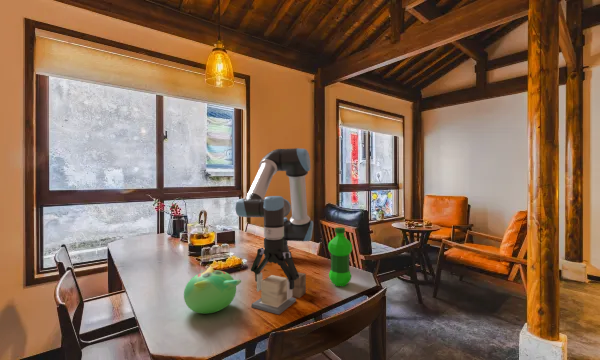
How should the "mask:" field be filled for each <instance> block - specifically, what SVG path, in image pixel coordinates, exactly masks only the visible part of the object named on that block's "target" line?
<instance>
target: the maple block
mask: <svg viewBox="0 0 600 360" xmlns="http://www.w3.org/2000/svg"><path fill="white" fill-rule="evenodd" d="M260 291H261V292H260V293H261V295H260V298H261V302H263V303H266V304H270V305H274V306H278V305H280V304H281V303H282V302H284V301H285V300H286V299H287V277H283V276H279V275H274V274H271V275H269V276H267V277H266V278H263V279H262V281H261V290H260Z"/></svg>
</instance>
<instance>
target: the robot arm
mask: <svg viewBox="0 0 600 360" xmlns="http://www.w3.org/2000/svg"><path fill="white" fill-rule="evenodd" d="M310 171H311V157H310V154H309V151H308V149H306V148H299V147H297V148H296V147H295V148H276V149H273V150H272V151H270V152H268V153H267V154H266V155H264V156H263V157H262V159H261V160H260V162H259V163H258V171H257V173H256V175H255V177H254V179H253V181H252V183H251V185H250V188H249V190H248V192H247V194H246V195H245V196H246V197H244V198H239V199H237V200H236V202H235V213H236V215H237V216H238V217H240V218H241V217H242V218H263V237H264V239H263V247H260V248H258V249H256V250H257V251H256V252H257V253H256V256H255V258H254V260H253V263H252V264H251V265H252V266H251V268H250V271H251V273H254V276H255V277H254V280H255V283H256V292H257V293H258V292H260V291H261V281H262V280H263V272H262V270H263V269H264V268H265V267H266V265H267V264H268V263H269V264H270V263H273V264H277V266H279V267H280V268H281V270H282V272H283V273H284V275H285V276H286V278H288V279H289V280H287V299H289V298H291V297H293V296H292V289H293V288H294V280H296V279H298V278H299V274H298V272H299V271H298V269H297V267H296V265H295V262H294V259H293V256H292V252H291V251H290V248H289V246H288V241H289V242H303V243H304V242H310V241H311V240H312V237H313V230H314V221H313V220H311V217H310V216H309V215H308V202H307V189H306V188H307V187H306V186H307V183H306V176H307V175H308V173H309V172H310ZM277 172H285V176H287V177H288V180H289V182H288V183H289V191H290V192H289V194H290V202H289V200H288V199H286V198H285V197H283V196H281V195H269V196H266V194H267V193H268V192H267V191H268V189H269V187H270V184H271V182H272V179H273V177H274V175H276V174H277ZM290 213H291V217H290V218H289V220H288V217H287V216H288V215H289V214H290ZM263 257H264V258H263ZM262 258H263V259H262ZM261 260H262V261H261Z"/></svg>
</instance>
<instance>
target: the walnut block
mask: <svg viewBox="0 0 600 360" xmlns="http://www.w3.org/2000/svg"><path fill="white" fill-rule="evenodd" d="M297 272H298V274H299V278H298V279H296V280H294V288H293V289H292V297H293V298H296V299H300V298H301V297H302V296H304V295H305V294H306V293H307V292H306V291H307V286H306V285H307V284H306V280H307V279H306V277H307V273H305V272H304V273H303V272H299V271H297ZM286 278H287V277H286ZM287 280H289V279H288V278H287Z"/></svg>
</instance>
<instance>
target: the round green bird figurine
mask: <svg viewBox="0 0 600 360" xmlns="http://www.w3.org/2000/svg"><path fill="white" fill-rule="evenodd" d="M241 283H242V280H241V279H234V277H233V276H232V275H231V274H230V273H228V272H226V271H223V270H217V269H216V270H215V269H214V267H213V266H210V267H208V268H207V269H206V270H205V271H202V272H200V273H197V274H196V275H195V276H194V275H193V276H192V278H190V279H189V281H187V283H186V285H185V288H184V291H183V300H184V304H186V306H187V307H188V309H190V310H191V311H192V312H195V313H197V314H204V315H205V314H206V315H207V314H213V313H217V312H219V311H222V310H224V309H225V308H227V307H228V306H229V305H230V304H231V303H232V302H233V300H234V298H235V297H236V294H237V286H238V285H240V284H241Z"/></svg>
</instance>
